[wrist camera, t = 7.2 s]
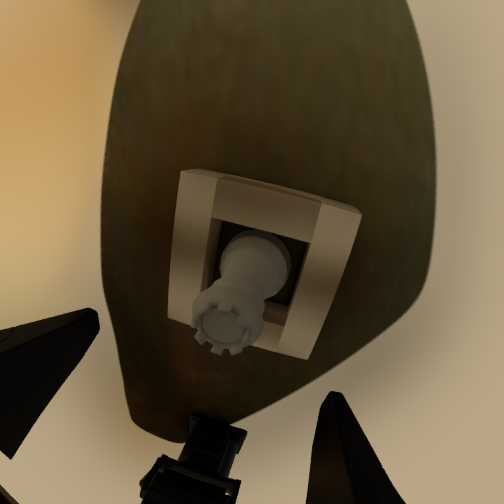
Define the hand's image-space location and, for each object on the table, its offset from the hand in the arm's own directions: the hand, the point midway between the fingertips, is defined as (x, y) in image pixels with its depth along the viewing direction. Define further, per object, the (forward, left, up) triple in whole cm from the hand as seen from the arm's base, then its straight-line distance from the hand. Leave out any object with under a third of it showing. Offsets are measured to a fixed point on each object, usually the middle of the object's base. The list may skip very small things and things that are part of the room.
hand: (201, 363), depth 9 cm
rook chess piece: (0, 0, -10) cm, 10 cm away
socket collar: (0, 0, -10) cm, 10 cm away
